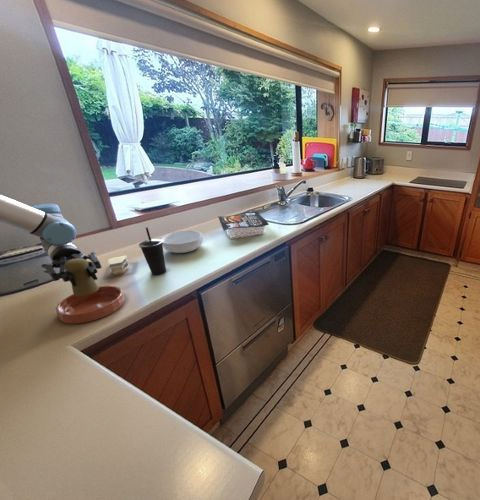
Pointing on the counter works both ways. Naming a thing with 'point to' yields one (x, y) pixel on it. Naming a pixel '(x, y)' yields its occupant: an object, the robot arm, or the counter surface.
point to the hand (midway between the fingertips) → (84, 278)
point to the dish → (90, 305)
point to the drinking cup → (154, 254)
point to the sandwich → (118, 264)
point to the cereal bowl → (182, 241)
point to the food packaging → (243, 224)
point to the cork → (81, 277)
